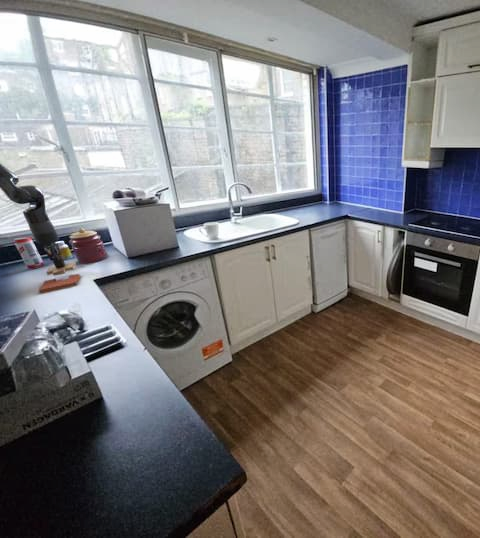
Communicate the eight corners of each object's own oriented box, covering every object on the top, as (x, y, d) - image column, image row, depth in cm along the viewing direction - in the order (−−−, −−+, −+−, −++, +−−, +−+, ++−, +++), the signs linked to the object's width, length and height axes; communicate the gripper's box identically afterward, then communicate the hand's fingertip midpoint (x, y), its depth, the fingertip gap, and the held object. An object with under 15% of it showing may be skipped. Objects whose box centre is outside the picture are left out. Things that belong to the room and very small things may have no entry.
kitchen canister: (92, 264, 156) (78, 232, 149) (71, 263, 158) (57, 231, 151) (114, 255, 168) (102, 225, 161) (95, 254, 170) (82, 225, 163)
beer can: (32, 269, 151) (16, 240, 145) (25, 268, 153) (9, 239, 147) (47, 265, 157) (33, 236, 150) (40, 264, 159) (26, 235, 152)
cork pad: (46, 277, 132) (39, 264, 129) (51, 268, 141) (45, 256, 139) (72, 272, 137) (66, 259, 134) (76, 264, 146) (70, 251, 143)
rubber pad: (40, 293, 126) (38, 290, 125) (46, 283, 135) (44, 280, 134) (76, 285, 132) (75, 282, 132) (80, 276, 141) (79, 273, 141)
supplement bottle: (74, 257, 167) (67, 241, 163) (62, 260, 163) (54, 244, 159) (70, 256, 169) (63, 240, 165) (58, 259, 165) (50, 242, 161)
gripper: (36, 229, 136) (53, 264, 143) (28, 236, 125) (47, 273, 132) (57, 226, 140) (73, 260, 147) (52, 233, 129) (69, 268, 136)
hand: (60, 266), depth 140 cm, fingers closed on cork pad, 3 cm apart
